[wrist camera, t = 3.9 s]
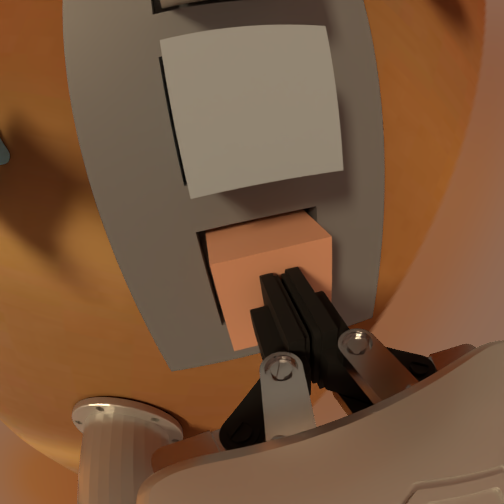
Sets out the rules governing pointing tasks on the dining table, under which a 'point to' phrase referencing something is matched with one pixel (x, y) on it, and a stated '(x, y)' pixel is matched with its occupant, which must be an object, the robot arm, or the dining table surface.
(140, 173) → the button panel
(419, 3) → the dining table surface
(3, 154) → the chair
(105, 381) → the dining table surface
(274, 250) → the terracotta button
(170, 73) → the slate button
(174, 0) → the cream button
